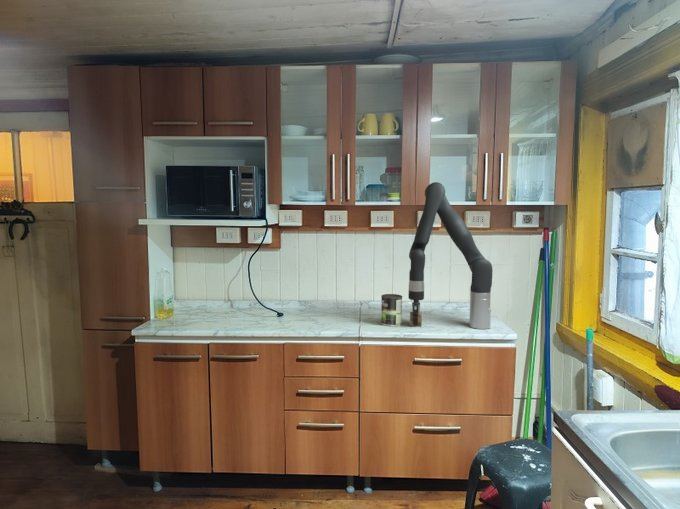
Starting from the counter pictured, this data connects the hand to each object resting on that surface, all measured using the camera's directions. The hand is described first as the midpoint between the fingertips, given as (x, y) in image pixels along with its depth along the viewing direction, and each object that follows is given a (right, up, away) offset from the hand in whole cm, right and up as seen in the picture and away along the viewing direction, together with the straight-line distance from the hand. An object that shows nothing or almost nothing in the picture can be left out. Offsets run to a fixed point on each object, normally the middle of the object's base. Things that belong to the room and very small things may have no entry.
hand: (415, 323), depth 207 cm
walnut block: (0, -1, 0) cm, 1 cm away
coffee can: (-12, -1, +3) cm, 12 cm away
